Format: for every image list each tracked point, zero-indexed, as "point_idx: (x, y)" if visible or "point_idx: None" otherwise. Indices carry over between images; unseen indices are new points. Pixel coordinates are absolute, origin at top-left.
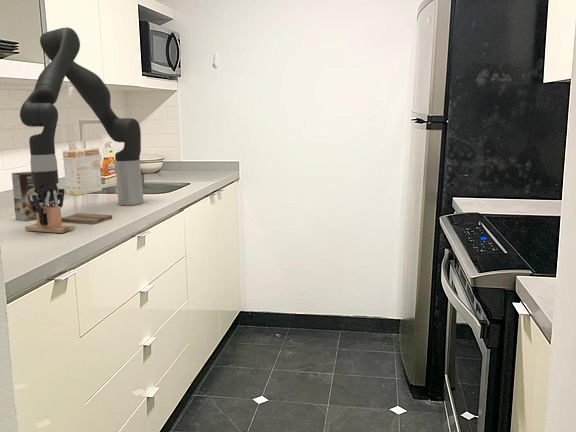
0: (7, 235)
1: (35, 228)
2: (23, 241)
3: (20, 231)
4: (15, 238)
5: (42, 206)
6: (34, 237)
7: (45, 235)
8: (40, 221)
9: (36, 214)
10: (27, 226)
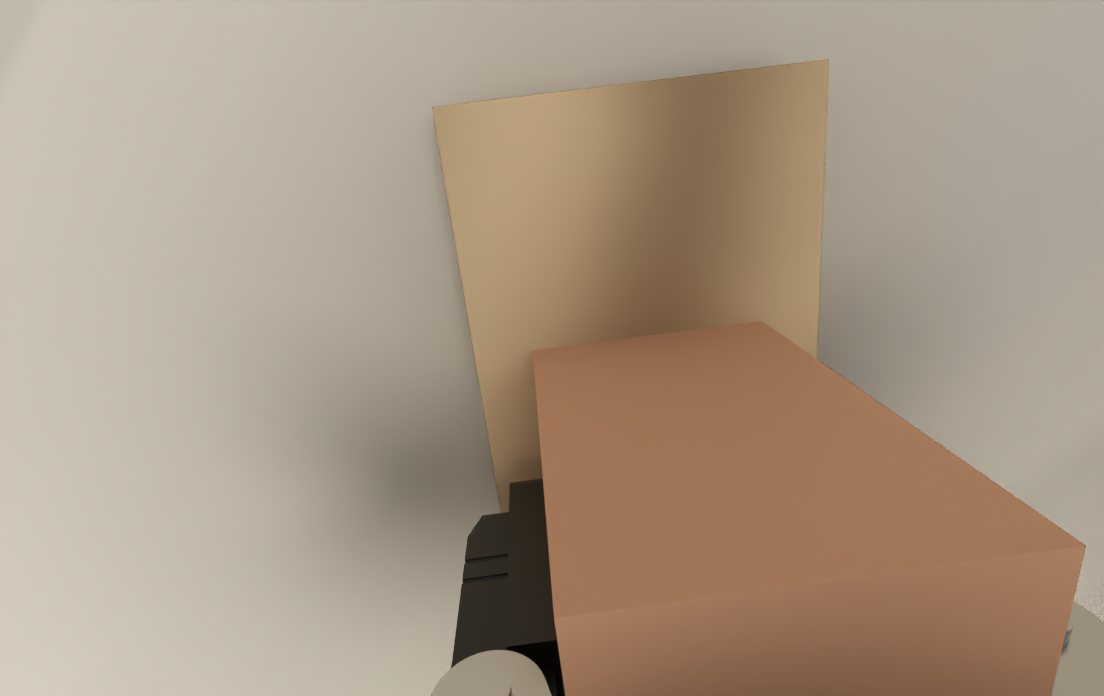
0: (60, 101)
1: (476, 357)
2: (30, 644)
3: (395, 27)
4: (42, 420)
5: (857, 636)
6: (245, 587)
7: (396, 611)
8: (471, 566)
9: (545, 469)
10: (457, 160)
